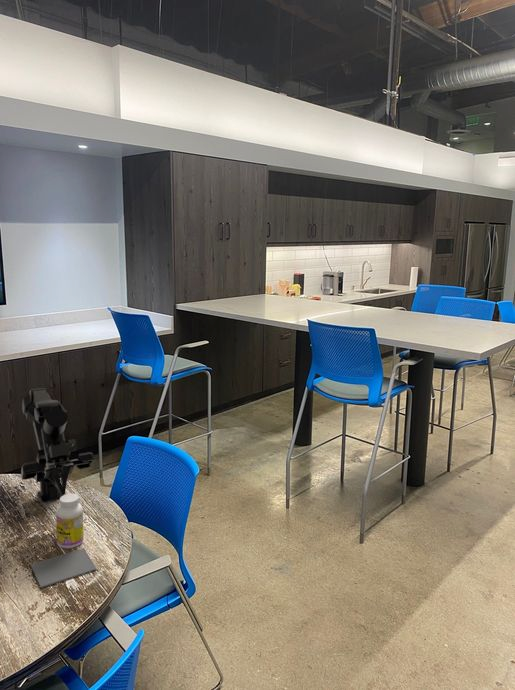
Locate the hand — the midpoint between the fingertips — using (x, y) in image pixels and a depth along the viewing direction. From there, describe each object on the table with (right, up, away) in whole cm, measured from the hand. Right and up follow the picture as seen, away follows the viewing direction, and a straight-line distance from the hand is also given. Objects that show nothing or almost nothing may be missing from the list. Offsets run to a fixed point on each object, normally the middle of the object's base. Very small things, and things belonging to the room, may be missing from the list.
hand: (63, 494), depth 144 cm
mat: (+6, -14, -15) cm, 21 cm away
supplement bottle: (+3, -12, -4) cm, 13 cm away
